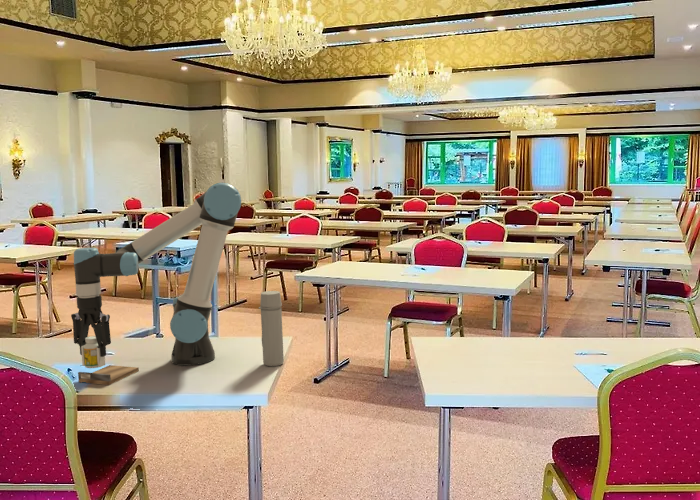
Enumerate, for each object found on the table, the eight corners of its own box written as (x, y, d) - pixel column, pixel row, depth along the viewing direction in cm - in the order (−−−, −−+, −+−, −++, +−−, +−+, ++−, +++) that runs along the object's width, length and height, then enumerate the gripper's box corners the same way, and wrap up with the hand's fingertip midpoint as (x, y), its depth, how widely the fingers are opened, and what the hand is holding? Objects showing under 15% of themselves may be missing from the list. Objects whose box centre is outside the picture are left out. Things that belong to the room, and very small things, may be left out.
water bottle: (289, 363, 226) (286, 292, 223) (271, 368, 220) (268, 295, 217) (272, 358, 232) (268, 289, 229) (254, 363, 227) (251, 292, 224)
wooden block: (138, 371, 222) (138, 361, 222) (108, 385, 208) (108, 375, 208) (109, 368, 226) (108, 359, 226) (78, 382, 212) (77, 372, 212)
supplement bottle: (104, 366, 214) (102, 338, 213) (86, 369, 211) (84, 340, 210) (100, 362, 218) (98, 334, 217) (83, 365, 215) (81, 337, 214)
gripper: (120, 294, 212) (124, 364, 215) (74, 292, 218) (79, 360, 221) (104, 299, 205) (109, 370, 208) (57, 296, 211) (63, 366, 214)
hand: (93, 365), depth 215 cm, fingers closed on supplement bottle, 5 cm apart
